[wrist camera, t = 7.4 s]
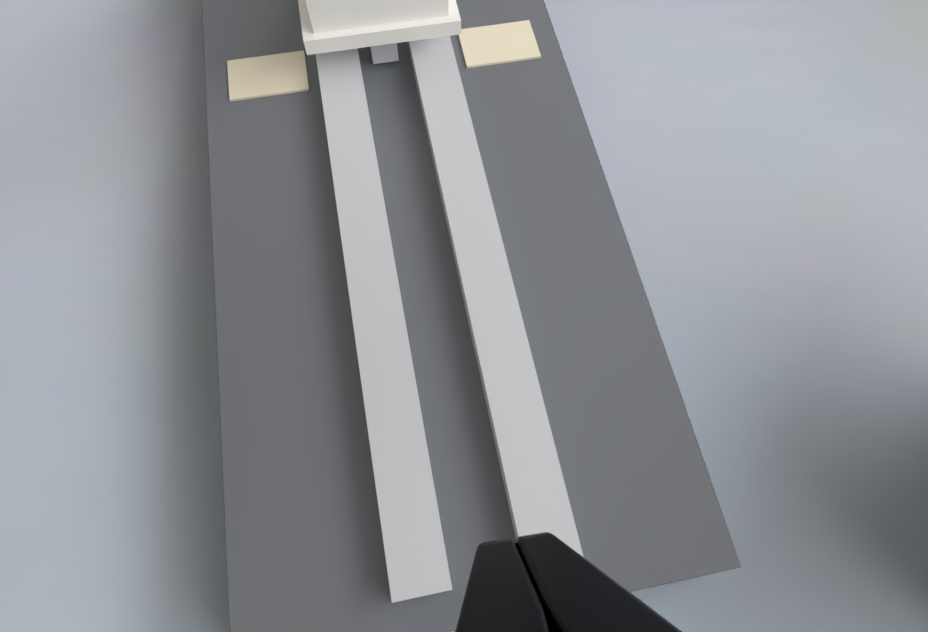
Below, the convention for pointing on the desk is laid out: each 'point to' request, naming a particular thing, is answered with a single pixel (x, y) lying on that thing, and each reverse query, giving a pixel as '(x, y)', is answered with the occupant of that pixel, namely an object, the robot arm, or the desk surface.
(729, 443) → the desk surface
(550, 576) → the robot arm
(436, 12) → the fader lever
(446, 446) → the fader console
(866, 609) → the desk surface
